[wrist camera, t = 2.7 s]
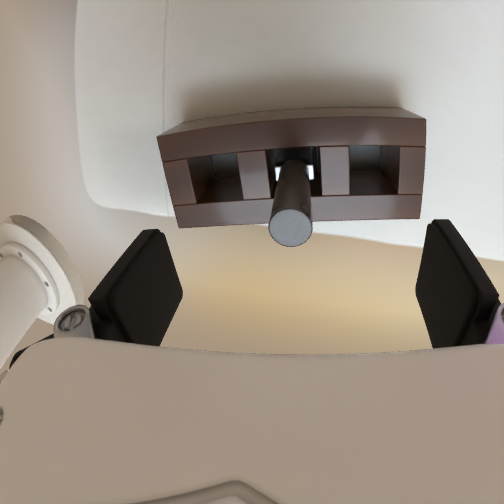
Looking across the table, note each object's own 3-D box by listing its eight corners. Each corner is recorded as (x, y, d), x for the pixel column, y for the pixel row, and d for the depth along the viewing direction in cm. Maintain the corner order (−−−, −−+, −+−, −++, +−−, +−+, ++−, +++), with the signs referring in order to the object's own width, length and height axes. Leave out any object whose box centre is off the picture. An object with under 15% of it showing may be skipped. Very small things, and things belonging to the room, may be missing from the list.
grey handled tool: (312, 162, 23) (320, 246, 13) (281, 164, 23) (263, 248, 13) (310, 140, 22) (319, 207, 12) (278, 142, 22) (258, 209, 12)
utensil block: (400, 190, 23) (419, 219, 19) (198, 200, 26) (178, 228, 22) (402, 108, 19) (426, 119, 15) (182, 122, 22) (156, 136, 18)
